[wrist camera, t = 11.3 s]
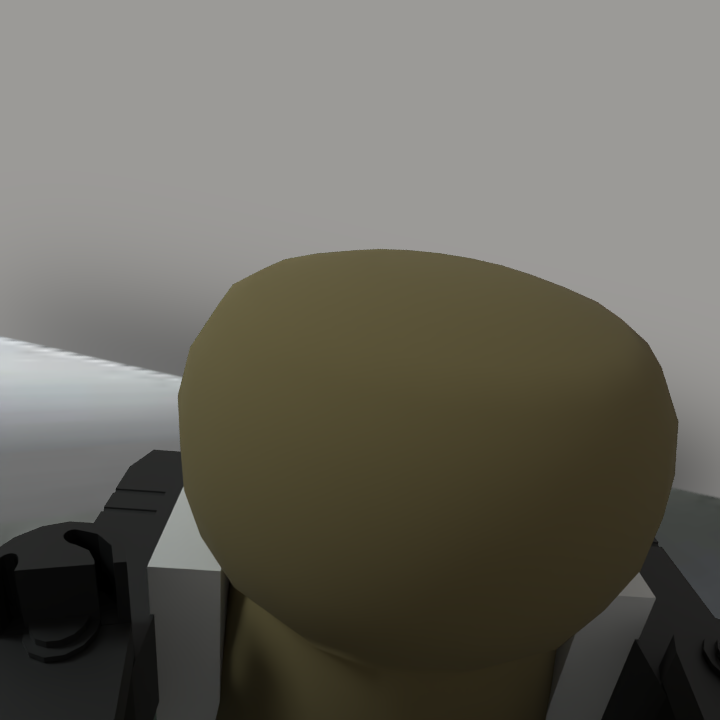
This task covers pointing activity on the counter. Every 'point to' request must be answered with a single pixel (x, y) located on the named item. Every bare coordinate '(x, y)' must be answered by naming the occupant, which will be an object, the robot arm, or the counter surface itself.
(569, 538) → the cork
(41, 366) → the counter surface
